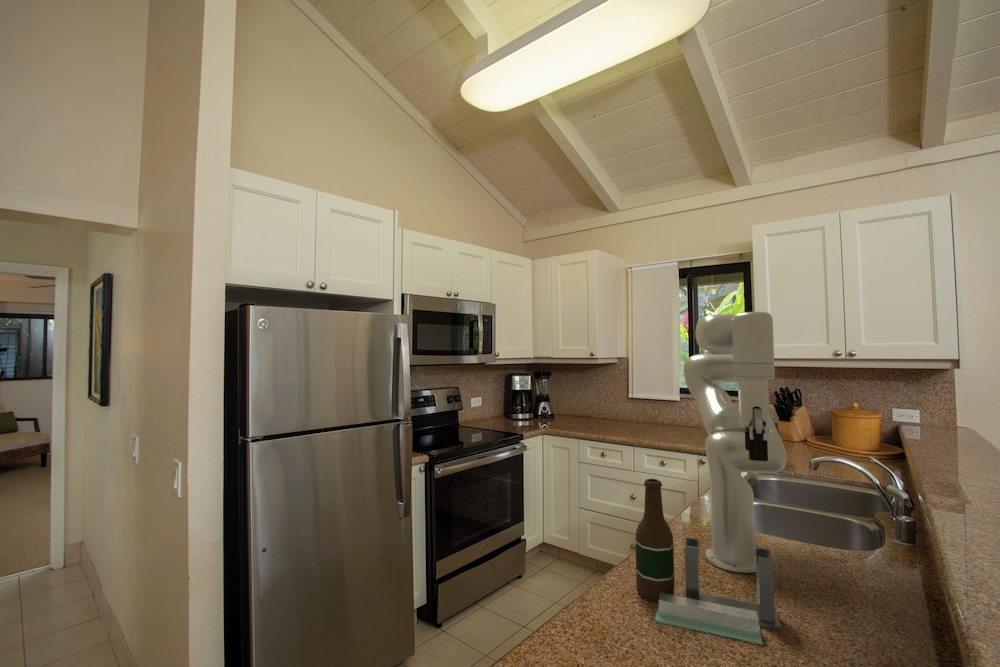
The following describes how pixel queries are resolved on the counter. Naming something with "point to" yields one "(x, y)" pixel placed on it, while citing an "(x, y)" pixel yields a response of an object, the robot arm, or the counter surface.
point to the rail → (709, 614)
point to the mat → (708, 629)
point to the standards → (764, 599)
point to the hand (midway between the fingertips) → (756, 455)
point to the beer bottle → (654, 547)
